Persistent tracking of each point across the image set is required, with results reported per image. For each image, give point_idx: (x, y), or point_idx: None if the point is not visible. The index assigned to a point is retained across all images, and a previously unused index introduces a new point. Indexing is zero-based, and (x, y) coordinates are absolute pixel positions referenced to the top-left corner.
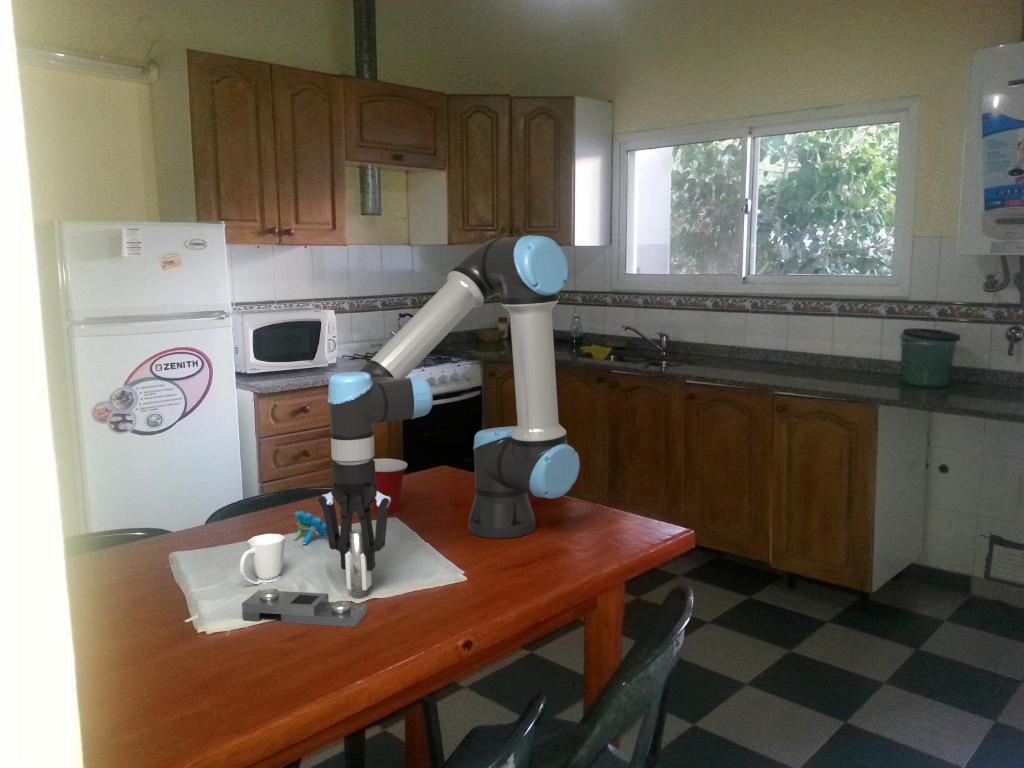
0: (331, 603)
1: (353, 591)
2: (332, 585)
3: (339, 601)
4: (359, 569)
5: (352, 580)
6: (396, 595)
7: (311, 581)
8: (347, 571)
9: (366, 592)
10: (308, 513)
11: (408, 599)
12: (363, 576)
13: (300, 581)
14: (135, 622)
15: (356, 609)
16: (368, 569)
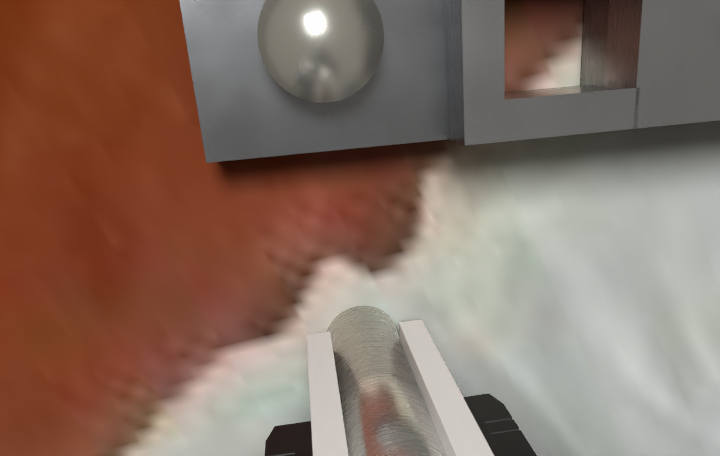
0: (422, 121)
1: (385, 325)
2: (544, 410)
3: (352, 80)
4: (359, 406)
5: (400, 358)
6: (176, 391)
7: (656, 422)
8: (440, 377)
9: None
10: None
11: (85, 364)
12: (324, 377)
13: (705, 409)
14: None
15: (227, 68)
16: (300, 429)
